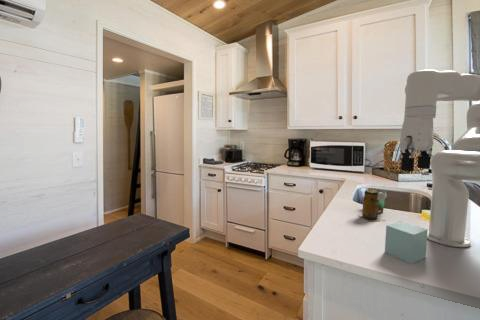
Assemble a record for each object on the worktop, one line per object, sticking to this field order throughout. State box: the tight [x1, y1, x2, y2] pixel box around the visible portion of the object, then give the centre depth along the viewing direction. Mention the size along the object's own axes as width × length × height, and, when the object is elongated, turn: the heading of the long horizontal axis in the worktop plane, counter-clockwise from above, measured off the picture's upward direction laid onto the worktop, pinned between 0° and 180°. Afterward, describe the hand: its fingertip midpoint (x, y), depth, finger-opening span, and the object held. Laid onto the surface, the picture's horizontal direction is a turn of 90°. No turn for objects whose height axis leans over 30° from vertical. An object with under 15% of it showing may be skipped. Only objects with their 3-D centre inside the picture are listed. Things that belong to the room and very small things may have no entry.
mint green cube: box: [384, 221, 429, 265], centre depth 72 cm, size 8×8×9 cm
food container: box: [367, 188, 388, 215], centre depth 113 cm, size 12×6×10 cm, turn 168°
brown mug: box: [357, 189, 385, 222], centre depth 104 cm, size 7×8×12 cm
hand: (415, 169), depth 72 cm, fingers open, 9 cm apart
